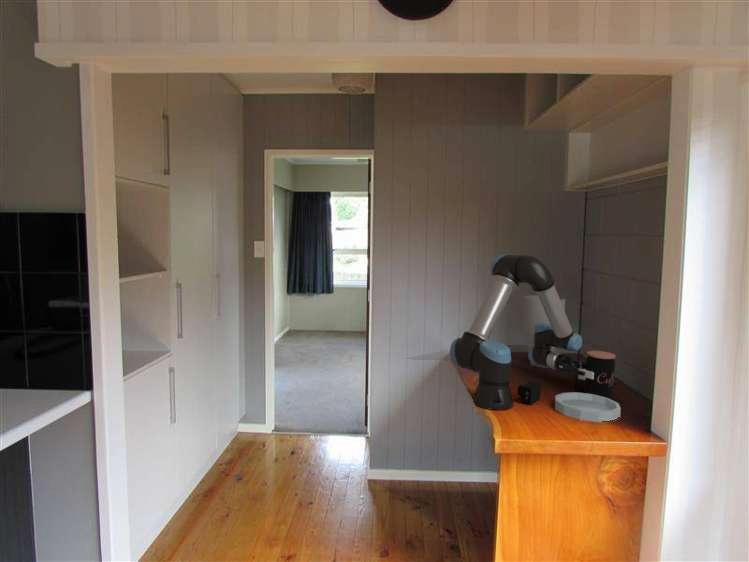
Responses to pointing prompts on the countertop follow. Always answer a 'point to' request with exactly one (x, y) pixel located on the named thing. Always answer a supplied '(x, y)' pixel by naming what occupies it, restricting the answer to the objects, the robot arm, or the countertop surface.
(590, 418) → the bowl
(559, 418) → the countertop surface
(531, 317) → the lamp
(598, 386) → the coffee jar
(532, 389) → the digital camera
